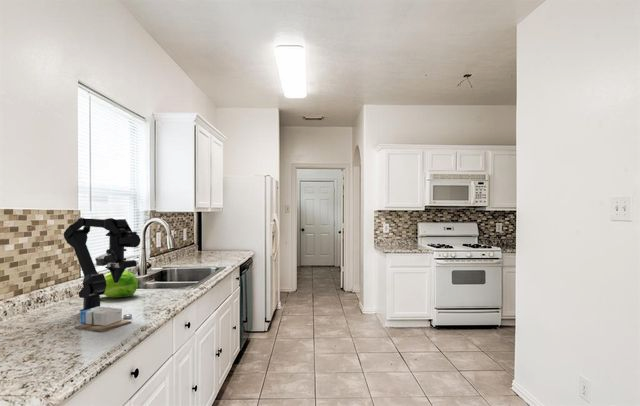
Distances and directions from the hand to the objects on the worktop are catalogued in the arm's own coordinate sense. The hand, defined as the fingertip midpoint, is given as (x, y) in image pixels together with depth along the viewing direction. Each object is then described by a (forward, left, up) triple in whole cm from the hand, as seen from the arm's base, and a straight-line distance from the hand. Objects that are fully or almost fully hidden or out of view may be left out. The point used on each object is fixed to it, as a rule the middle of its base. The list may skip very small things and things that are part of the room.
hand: (116, 282), depth 162 cm
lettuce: (-27, +21, -13) cm, 37 cm away
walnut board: (+11, -15, -13) cm, 22 cm away
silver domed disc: (+11, -4, -13) cm, 18 cm away
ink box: (+3, -14, -10) cm, 18 cm away
